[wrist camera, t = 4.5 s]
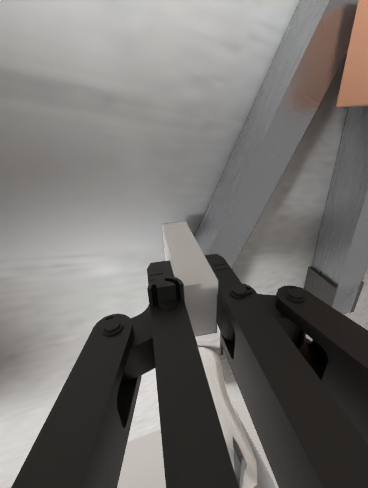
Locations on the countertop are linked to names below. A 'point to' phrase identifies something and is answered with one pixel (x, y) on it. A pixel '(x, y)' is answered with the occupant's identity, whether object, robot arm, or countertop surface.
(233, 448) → the beer glass
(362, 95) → the peach rectangular block
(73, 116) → the countertop surface
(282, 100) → the tong arm
